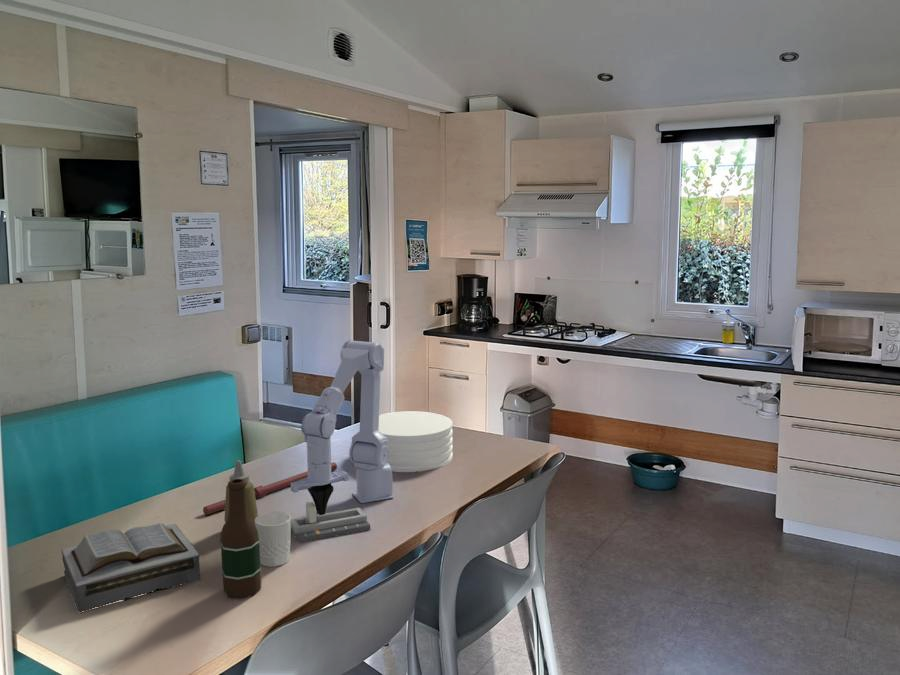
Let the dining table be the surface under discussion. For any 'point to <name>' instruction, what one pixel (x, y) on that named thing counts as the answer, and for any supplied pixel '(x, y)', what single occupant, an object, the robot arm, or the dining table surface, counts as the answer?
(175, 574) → the bible
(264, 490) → the red long thin rod
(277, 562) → the white cup
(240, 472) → the squeeze bottle
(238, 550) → the sauce bottle
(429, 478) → the dining table surface
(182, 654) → the dining table surface
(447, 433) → the plate stack
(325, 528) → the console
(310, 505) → the fader
